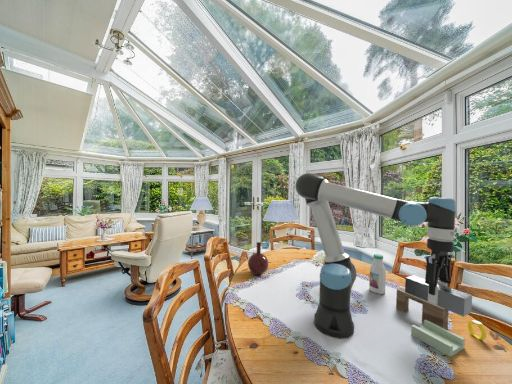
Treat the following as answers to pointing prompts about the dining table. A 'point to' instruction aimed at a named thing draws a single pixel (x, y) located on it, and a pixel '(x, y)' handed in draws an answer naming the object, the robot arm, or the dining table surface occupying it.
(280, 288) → the dining table surface
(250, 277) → the dining table surface
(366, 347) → the dining table surface
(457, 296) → the grey rectangular bar
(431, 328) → the cradle
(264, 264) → the round-bottom flask
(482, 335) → the yellow ring
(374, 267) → the milk bottle
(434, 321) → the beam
